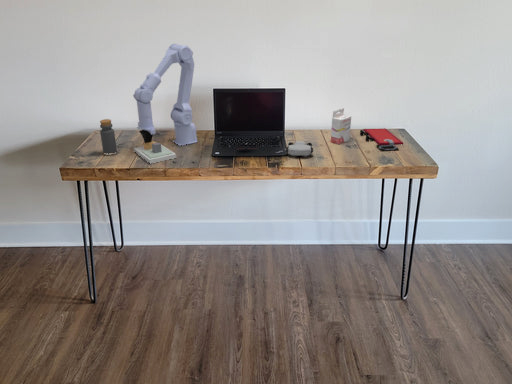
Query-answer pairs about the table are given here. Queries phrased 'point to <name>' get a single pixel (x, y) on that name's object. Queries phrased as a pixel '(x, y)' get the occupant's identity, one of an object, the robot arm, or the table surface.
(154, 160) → the white layered base plate
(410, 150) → the table surface
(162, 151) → the cover
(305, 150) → the robot toy
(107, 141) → the bottle
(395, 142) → the red board with handle
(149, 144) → the slider
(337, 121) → the ink cartridge box
